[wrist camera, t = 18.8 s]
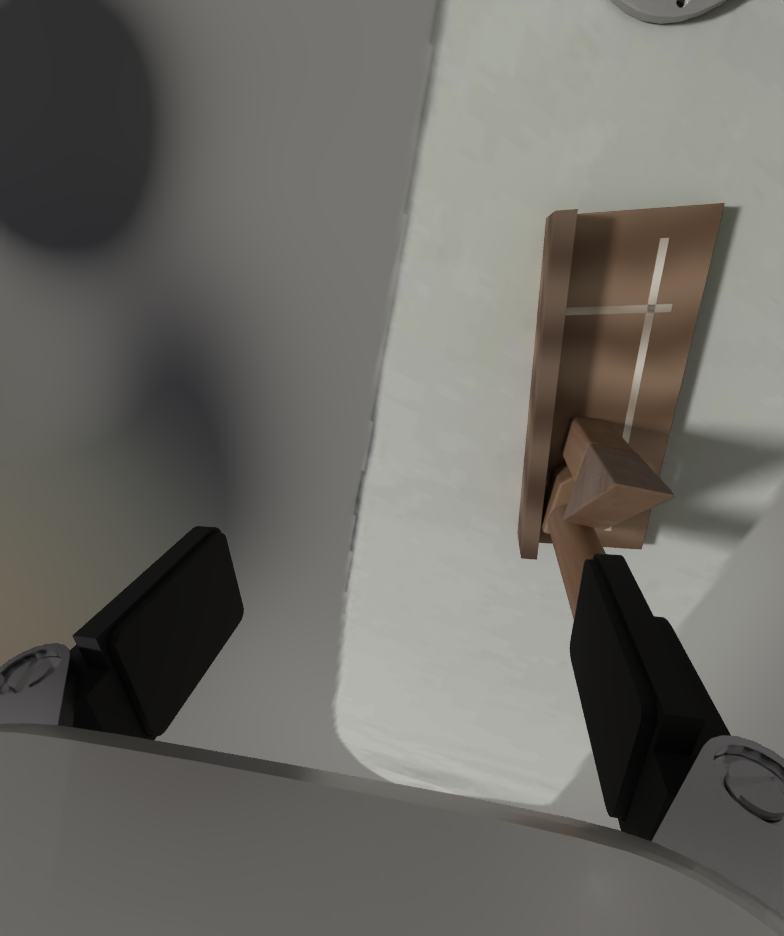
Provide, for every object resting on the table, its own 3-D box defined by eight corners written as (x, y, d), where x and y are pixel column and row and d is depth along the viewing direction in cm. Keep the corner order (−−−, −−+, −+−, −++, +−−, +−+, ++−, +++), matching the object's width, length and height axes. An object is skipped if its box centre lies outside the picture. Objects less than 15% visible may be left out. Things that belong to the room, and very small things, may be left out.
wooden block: (611, 421, 38) (707, 528, 22) (573, 521, 43) (631, 670, 27) (569, 414, 38) (634, 514, 22) (537, 513, 43) (571, 655, 27)
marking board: (546, 218, 34) (555, 210, 30) (714, 206, 32) (748, 196, 28) (517, 533, 46) (521, 558, 42) (636, 540, 44) (652, 567, 40)
